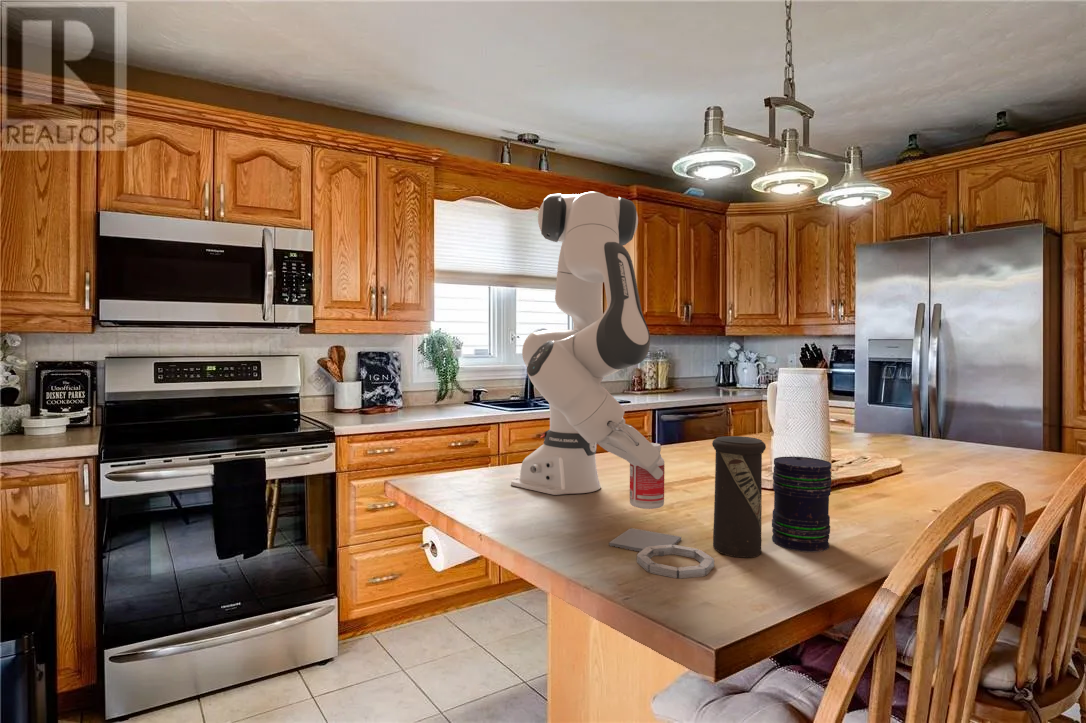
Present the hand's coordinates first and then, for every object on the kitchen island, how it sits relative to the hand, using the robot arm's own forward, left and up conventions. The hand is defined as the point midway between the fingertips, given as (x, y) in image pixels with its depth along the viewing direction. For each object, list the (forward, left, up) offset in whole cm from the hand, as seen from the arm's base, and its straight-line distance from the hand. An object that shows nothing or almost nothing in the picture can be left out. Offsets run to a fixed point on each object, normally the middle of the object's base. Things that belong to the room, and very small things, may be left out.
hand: (650, 471), depth 112 cm
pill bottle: (0, -1, -6) cm, 6 cm away
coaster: (-1, 0, -13) cm, 13 cm away
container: (+14, +5, -13) cm, 20 cm away
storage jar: (+23, +15, -13) cm, 31 cm away
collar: (+7, -8, -13) cm, 17 cm away
